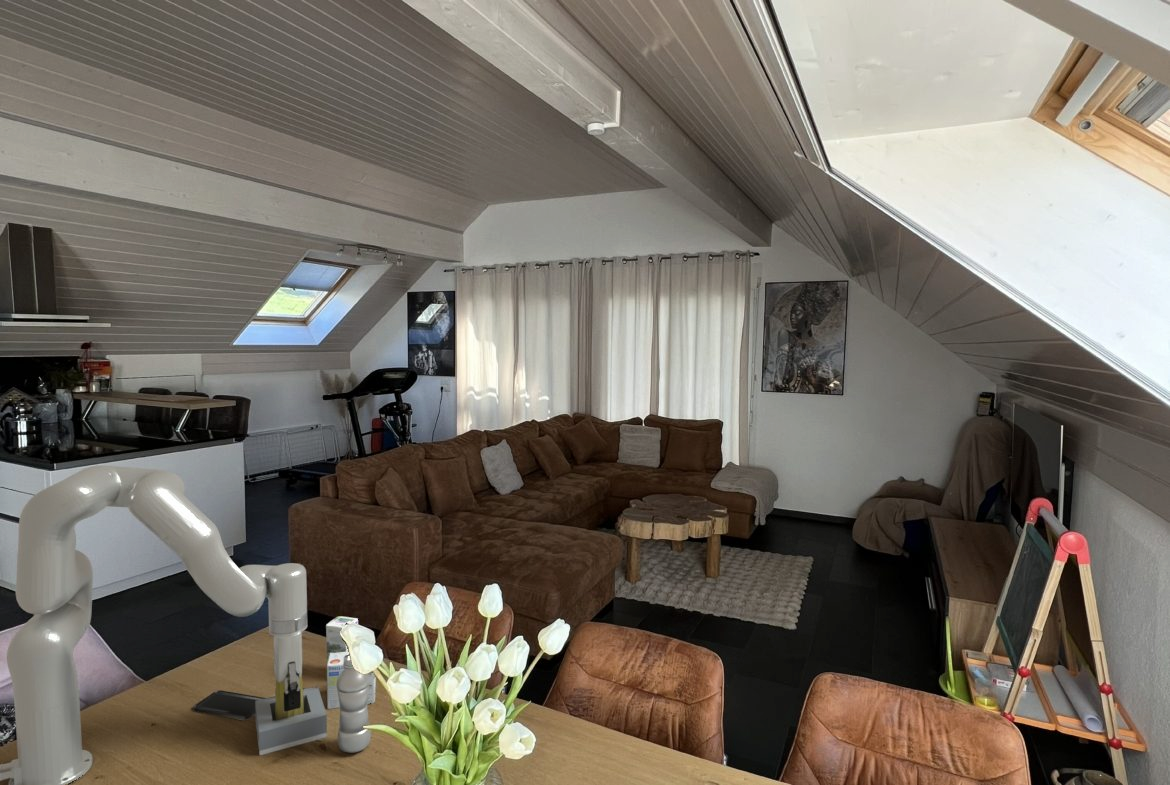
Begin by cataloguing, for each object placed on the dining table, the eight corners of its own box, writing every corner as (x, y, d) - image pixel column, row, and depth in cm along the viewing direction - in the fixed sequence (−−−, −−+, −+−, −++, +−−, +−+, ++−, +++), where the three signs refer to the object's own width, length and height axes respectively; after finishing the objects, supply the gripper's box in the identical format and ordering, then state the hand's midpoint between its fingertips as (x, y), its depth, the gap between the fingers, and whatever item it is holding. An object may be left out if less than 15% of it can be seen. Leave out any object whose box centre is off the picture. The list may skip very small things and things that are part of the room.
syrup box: (359, 671, 167) (359, 617, 166) (346, 683, 161) (345, 627, 160) (340, 668, 168) (339, 614, 167) (326, 680, 162) (325, 624, 161)
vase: (268, 726, 141) (267, 664, 140) (295, 713, 146) (293, 653, 145) (284, 737, 138) (282, 673, 136) (310, 723, 143) (309, 661, 141)
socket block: (259, 755, 133) (259, 732, 133) (255, 722, 144) (255, 700, 144) (326, 736, 140) (326, 714, 139) (318, 706, 151) (317, 686, 151)
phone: (217, 689, 156) (271, 698, 152) (217, 694, 156) (271, 703, 153) (190, 707, 148) (246, 717, 145) (190, 712, 148) (246, 722, 145)
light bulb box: (376, 689, 159) (375, 646, 158) (375, 704, 153) (374, 660, 152) (329, 694, 156) (329, 651, 155) (326, 710, 150) (325, 665, 149)
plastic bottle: (368, 756, 134) (367, 663, 132) (334, 758, 133) (332, 665, 131) (373, 736, 140) (372, 648, 138) (340, 739, 139) (339, 649, 137)
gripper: (265, 610, 146) (267, 683, 147) (272, 642, 131) (274, 723, 132) (302, 604, 149) (303, 675, 151) (312, 634, 134) (313, 713, 136)
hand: (289, 697), depth 141 cm, fingers open, 9 cm apart
